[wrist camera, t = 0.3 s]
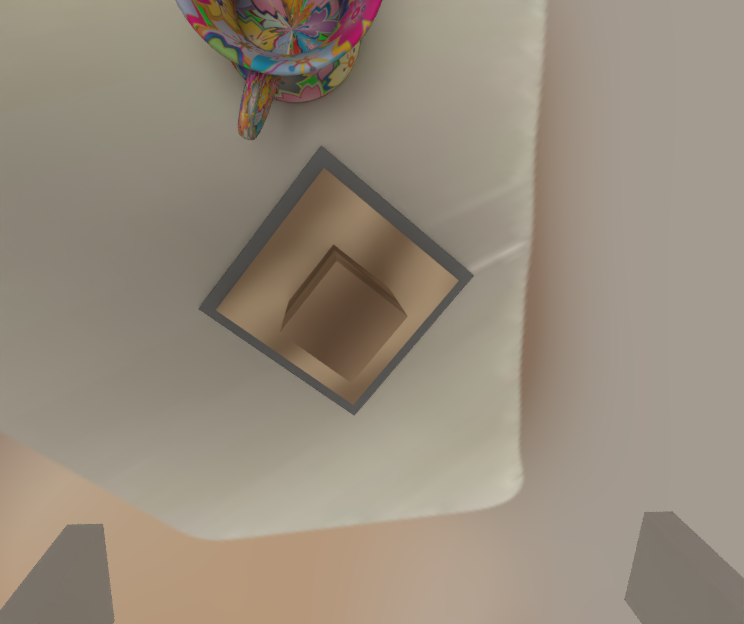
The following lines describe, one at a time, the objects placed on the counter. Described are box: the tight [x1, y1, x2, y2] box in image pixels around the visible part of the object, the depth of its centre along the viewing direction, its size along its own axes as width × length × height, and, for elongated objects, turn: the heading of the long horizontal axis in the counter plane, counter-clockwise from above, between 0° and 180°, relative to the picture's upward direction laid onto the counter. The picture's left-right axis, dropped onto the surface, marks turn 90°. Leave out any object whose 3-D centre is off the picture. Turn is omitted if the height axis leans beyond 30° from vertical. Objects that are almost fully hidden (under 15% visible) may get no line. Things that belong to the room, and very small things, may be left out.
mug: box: [176, 0, 382, 140], centre depth 24 cm, size 12×9×11 cm
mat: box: [199, 146, 474, 415], centre depth 33 cm, size 14×14×1 cm
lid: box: [216, 168, 459, 405], centre depth 29 cm, size 12×12×8 cm
